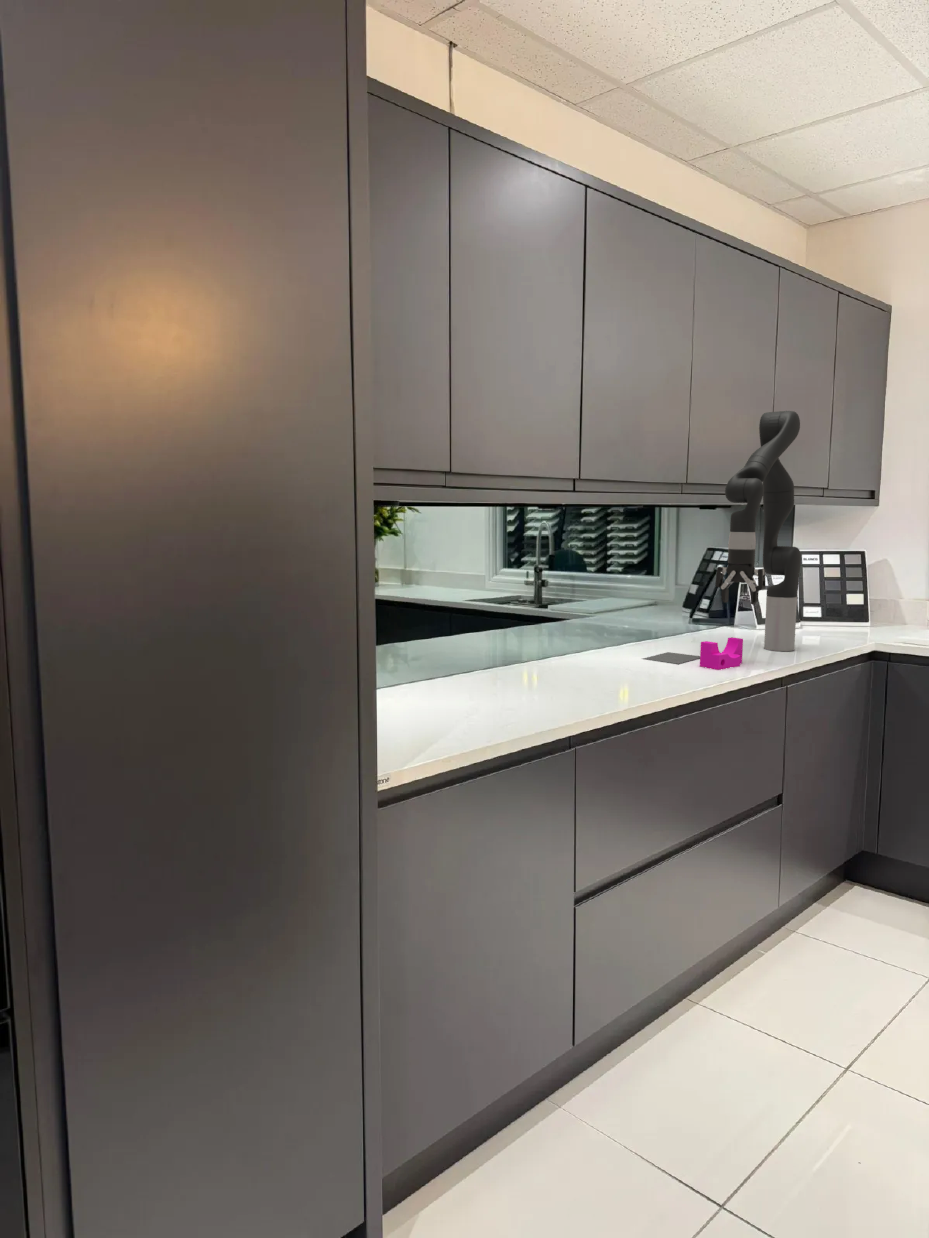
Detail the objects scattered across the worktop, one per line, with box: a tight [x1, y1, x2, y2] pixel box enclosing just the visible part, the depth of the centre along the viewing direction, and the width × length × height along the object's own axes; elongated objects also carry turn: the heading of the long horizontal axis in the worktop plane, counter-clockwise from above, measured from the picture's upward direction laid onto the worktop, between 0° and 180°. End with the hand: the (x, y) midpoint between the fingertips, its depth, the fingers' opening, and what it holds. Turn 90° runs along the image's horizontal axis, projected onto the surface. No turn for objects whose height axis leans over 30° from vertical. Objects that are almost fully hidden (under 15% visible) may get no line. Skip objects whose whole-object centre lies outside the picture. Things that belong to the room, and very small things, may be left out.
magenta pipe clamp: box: [699, 636, 744, 671], centre depth 250 cm, size 15×6×8 cm, turn 128°
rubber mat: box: [642, 651, 700, 665], centre depth 260 cm, size 16×12×1 cm
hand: (739, 603), depth 254 cm, fingers open, 8 cm apart
